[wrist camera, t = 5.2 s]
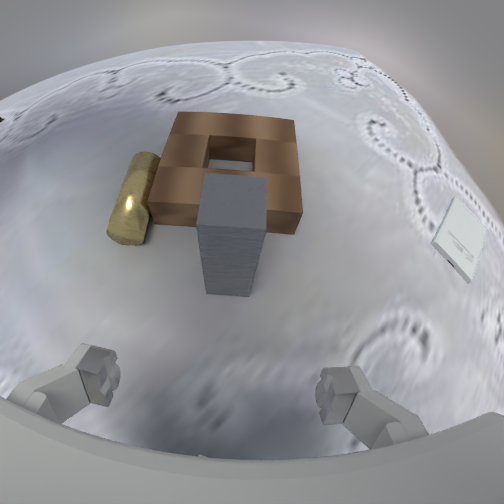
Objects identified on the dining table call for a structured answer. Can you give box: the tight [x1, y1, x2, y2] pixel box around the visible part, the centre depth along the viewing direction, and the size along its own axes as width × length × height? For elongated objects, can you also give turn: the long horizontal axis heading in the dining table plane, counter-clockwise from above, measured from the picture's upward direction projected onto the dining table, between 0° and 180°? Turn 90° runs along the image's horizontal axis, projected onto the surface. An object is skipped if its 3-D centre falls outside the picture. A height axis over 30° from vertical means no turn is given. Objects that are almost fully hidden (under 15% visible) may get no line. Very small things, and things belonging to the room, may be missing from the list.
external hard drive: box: [431, 197, 487, 284], centre depth 33 cm, size 2×8×12 cm
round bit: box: [106, 152, 161, 246], centre depth 29 cm, size 10×4×4 cm
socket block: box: [147, 112, 303, 234], centre depth 32 cm, size 15×15×4 cm
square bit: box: [196, 173, 267, 297], centre depth 23 cm, size 4×4×12 cm
